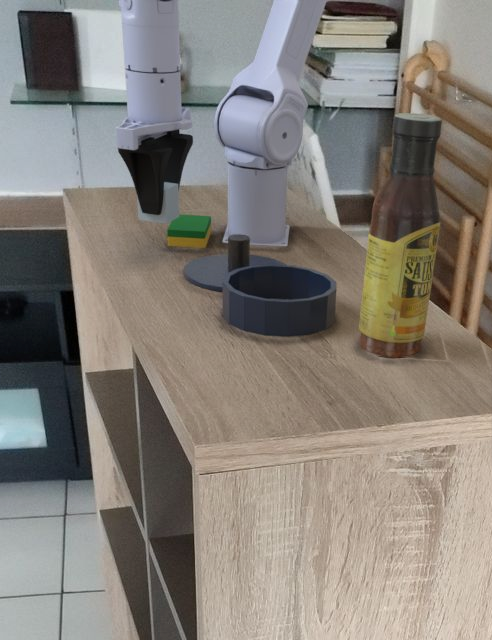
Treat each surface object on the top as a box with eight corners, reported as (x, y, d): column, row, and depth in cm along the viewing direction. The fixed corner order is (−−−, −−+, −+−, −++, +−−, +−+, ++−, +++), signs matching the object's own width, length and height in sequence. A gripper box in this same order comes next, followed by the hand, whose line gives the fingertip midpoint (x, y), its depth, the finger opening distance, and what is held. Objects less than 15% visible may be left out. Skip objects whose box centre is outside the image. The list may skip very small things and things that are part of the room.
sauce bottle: (403, 368, 83) (433, 126, 70) (345, 351, 85) (364, 115, 73) (433, 347, 87) (467, 116, 75) (377, 332, 90) (400, 106, 77)
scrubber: (175, 234, 113) (174, 213, 111) (211, 236, 113) (211, 216, 112) (168, 250, 107) (167, 229, 106) (205, 252, 108) (205, 231, 106)
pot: (228, 299, 95) (228, 261, 93) (333, 305, 95) (336, 267, 93) (218, 338, 86) (218, 297, 84) (334, 344, 87) (337, 304, 84)
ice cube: (151, 212, 104) (150, 180, 101) (179, 216, 103) (178, 183, 101) (138, 220, 101) (136, 186, 99) (166, 224, 100) (165, 190, 98)
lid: (190, 260, 105) (189, 219, 102) (294, 266, 105) (296, 225, 102) (177, 295, 95) (175, 250, 92) (291, 301, 95) (293, 257, 93)
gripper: (158, 81, 87) (164, 229, 95) (214, 65, 98) (216, 199, 106) (92, 74, 88) (104, 221, 96) (155, 59, 99) (161, 191, 107)
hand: (159, 209), depth 101 cm, fingers closed on ice cube, 3 cm apart
